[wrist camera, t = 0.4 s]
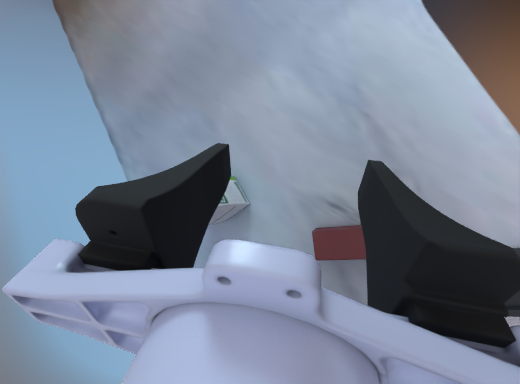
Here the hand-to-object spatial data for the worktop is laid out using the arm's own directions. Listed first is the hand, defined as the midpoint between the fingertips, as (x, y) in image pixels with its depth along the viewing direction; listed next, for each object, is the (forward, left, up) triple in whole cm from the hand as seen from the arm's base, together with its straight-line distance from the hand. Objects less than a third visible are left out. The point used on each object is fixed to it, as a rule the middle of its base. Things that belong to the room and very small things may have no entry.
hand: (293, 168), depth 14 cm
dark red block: (-8, -2, -27) cm, 28 cm away
